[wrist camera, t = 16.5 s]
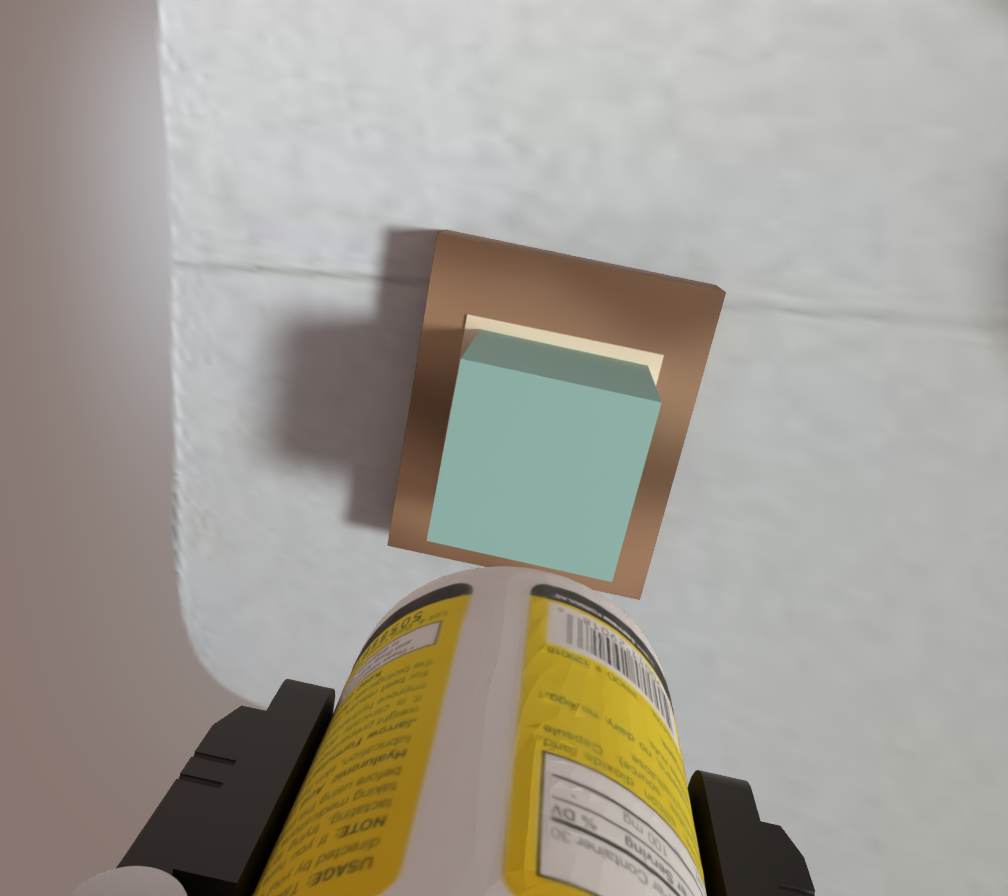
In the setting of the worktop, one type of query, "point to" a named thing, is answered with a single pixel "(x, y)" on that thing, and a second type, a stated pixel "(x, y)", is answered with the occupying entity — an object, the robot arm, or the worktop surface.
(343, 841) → the supplement bottle
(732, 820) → the robot arm
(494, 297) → the base board
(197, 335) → the worktop surface
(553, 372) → the teal block
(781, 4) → the worktop surface
